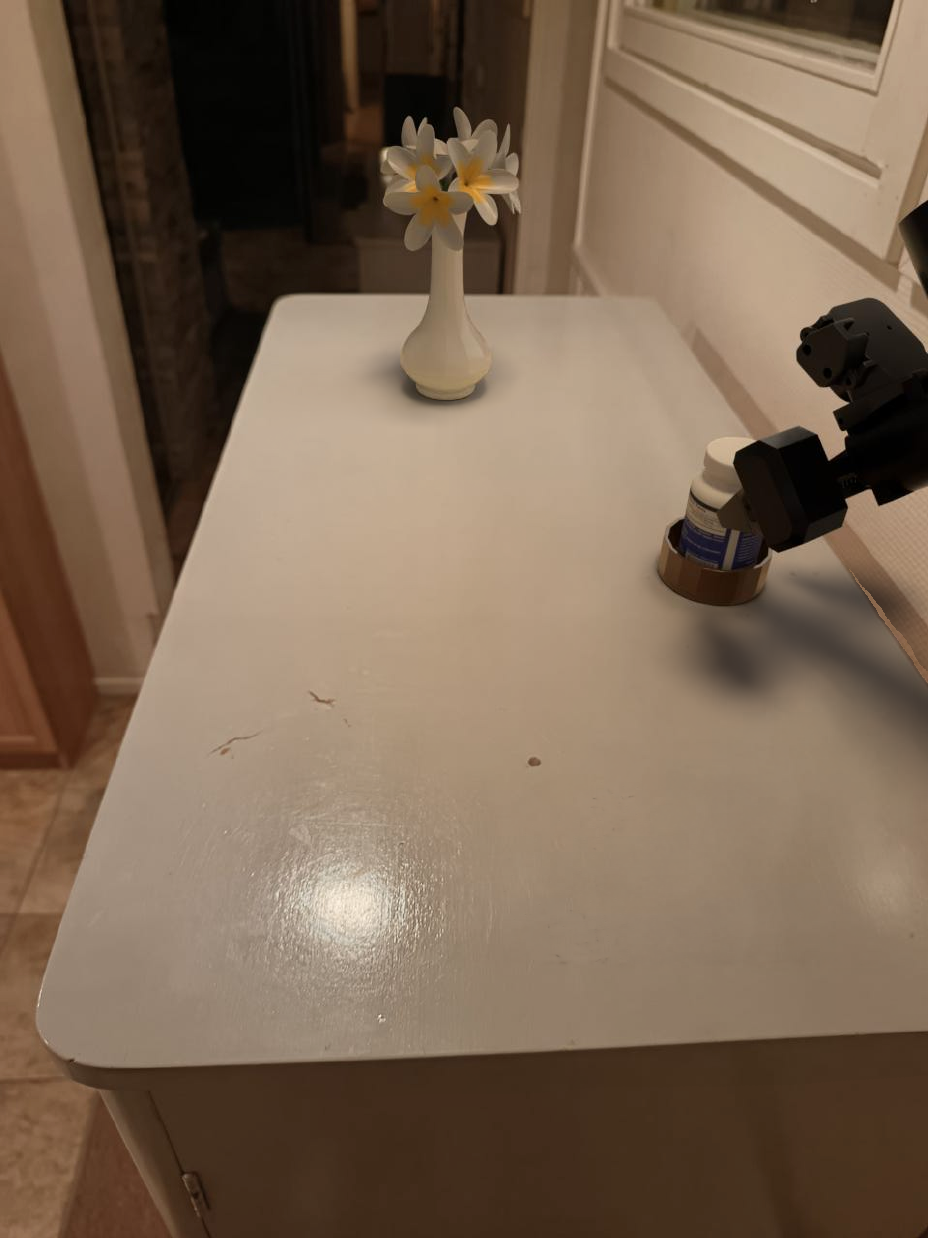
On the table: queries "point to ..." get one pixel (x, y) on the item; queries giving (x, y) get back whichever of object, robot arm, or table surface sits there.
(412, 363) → the flower vase
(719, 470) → the pill bottle
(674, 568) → the dock
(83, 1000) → the table surface
